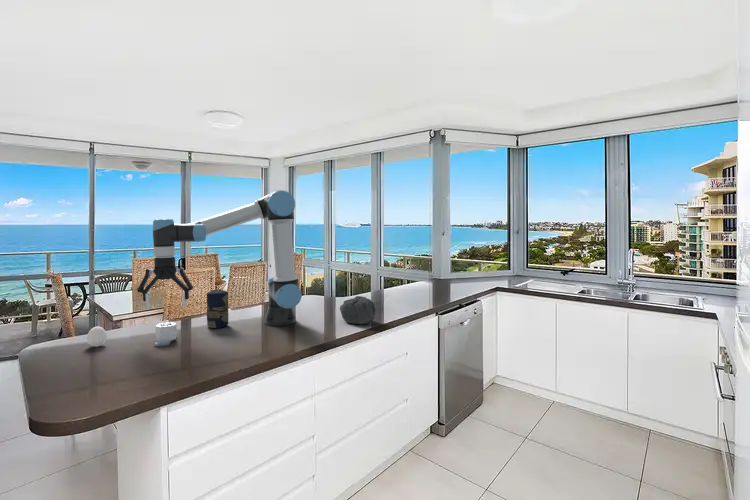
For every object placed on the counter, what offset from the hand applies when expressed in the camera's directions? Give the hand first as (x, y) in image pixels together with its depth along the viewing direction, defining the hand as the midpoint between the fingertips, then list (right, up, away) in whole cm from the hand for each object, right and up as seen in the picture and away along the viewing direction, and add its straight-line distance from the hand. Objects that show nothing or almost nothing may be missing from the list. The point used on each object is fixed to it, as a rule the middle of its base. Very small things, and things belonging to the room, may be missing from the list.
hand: (166, 308), depth 155 cm
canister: (+11, -13, +24) cm, 30 cm away
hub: (-1, -13, +1) cm, 13 cm away
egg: (-23, -14, -7) cm, 28 cm away
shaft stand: (-1, -14, +1) cm, 14 cm away
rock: (+78, -13, +37) cm, 87 cm away
